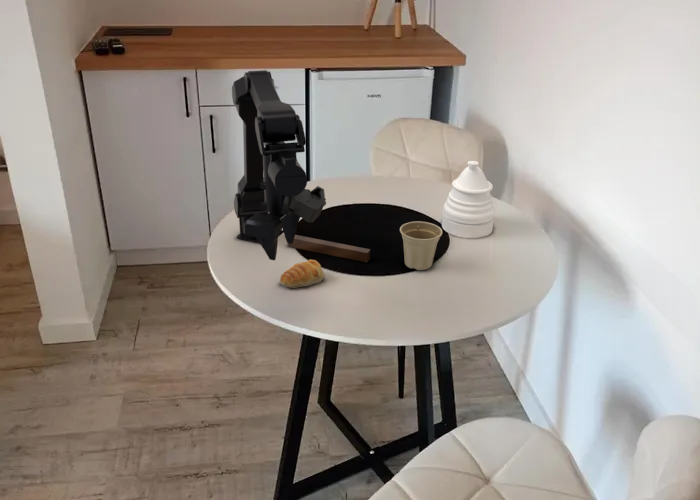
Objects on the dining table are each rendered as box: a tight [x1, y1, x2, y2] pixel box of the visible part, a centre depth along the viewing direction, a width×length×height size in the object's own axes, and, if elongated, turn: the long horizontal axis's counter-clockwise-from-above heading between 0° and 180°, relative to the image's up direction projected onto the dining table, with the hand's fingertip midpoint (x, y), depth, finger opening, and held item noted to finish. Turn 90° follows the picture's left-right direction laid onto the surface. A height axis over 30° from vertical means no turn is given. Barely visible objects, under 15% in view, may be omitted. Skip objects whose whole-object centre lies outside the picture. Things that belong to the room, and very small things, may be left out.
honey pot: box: [441, 160, 496, 239], centre depth 169 cm, size 13×13×18 cm
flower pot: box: [399, 220, 443, 271], centre depth 153 cm, size 9×9×9 cm
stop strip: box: [287, 234, 371, 263], centre depth 158 cm, size 20×2×2 cm, turn 69°
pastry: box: [279, 258, 325, 289], centre depth 146 cm, size 9×7×4 cm
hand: (281, 251), depth 133 cm, fingers open, 7 cm apart
